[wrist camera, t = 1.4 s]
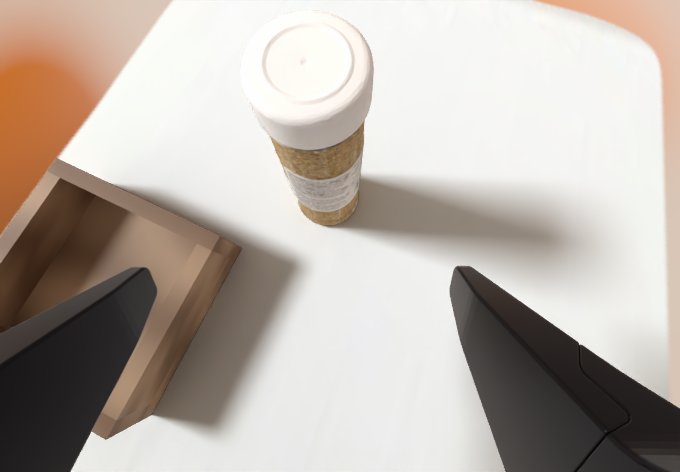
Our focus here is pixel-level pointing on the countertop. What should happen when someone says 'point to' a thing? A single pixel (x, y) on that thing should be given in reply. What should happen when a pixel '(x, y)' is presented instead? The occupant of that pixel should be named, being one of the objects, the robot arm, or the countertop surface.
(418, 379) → the countertop surface
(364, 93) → the sprinkles bottle
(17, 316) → the walnut crate
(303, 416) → the countertop surface
